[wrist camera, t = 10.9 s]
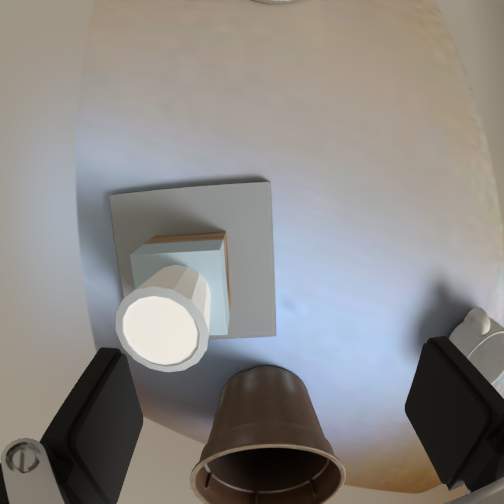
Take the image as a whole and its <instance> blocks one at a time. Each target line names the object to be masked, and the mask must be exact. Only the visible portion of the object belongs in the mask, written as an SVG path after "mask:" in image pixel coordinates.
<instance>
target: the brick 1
mask: <svg viewBox="0 0 504 504" xmlns="http://www.w3.org/2000/svg"><path fill="white" fill-rule="evenodd" d="M206 240H223V241H224V255H225V267H226V280H227V292H228V303H229V315H230V308H231V289H230V277H229V264H228V250H227V237H226V231H223V232H207V233H191V234H175V235H160V236H154V237H152V238H151V239H150V240H148V241H147V242H146V243H145V244H157V243H173V242H189V241H206Z"/></svg>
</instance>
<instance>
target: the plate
mask: <svg viewBox="0 0 504 504" xmlns="http://www.w3.org/2000/svg"><path fill="white" fill-rule="evenodd" d="M109 199H110V209H111V217H112V226H113V233H114V241H115V248H116V254H117V261H118V267H119V273H120V278H121V284H122V289H123V295H124V298H125V297H127V296H128V295H129V294H130V293H132V292H133V291H134V290H135V284H134V278H133V272H132V266H131V259H130V255H131V254H132V253H133V252H134V251H136V250H137V249H138V248H139V247H141V246H142V245H143V244H145V243H146V242H147V241H148V240H150V239H151V238H152V237H154V236H160V235H175V234H191V233H207V232H223V231H226V237H227V250H228V264H229V277H230V289H231V308H230V317H229V325H228V334H227V335H209V339H229V338H251V337H269V336H276V306H275V273H274V245H273V220H272V197H271V182H250V183H233V184H217V185H204V186H191V187H180V188H169V189H159V190H149V191H140V192H131V193H122V194H114V195H109Z"/></svg>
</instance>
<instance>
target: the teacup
mask: <svg viewBox="0 0 504 504" xmlns="http://www.w3.org/2000/svg"><path fill="white" fill-rule="evenodd" d="M448 339H449V340H450V341H451V342H452V343H453V344H454V345H455V346H456V347H457V348H458V349H459V350H460V351H461V352H462V353H463V354H464V355H465V356H466V357H467V359H468V360H469V361H470V362H471V363H472V364H473V365H474V366H475V367H476V368H477V369H478V370H479V372H480V373H481V374H482V375H483V376H484V377H485V378H486V379H487V380H488V382H489V383H490V384H491V385H492V384H493V383H494V382H495V381H496V380H497V379H498V378H499V377H500V376H501V375H502V374H503V372H504V328H503V327H502V326H501V325H500V324H498V323H497V322H496V321H494V320H493V319H491V318H489V317H488V315H487V313H486V312H485V311H484V310H483V309H482V308H480V307H476V308H474V309H472V310H471V311H470V312H469V313H468V315H467V316H466V317H465V318H464V321H463V322H462V323H461V324H459V325H458V326H457V327H456V328H455V329H454V330H453V332H452V333H451V335H450V337H449V338H448Z"/></svg>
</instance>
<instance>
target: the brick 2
mask: <svg viewBox="0 0 504 504" xmlns="http://www.w3.org/2000/svg"><path fill="white" fill-rule="evenodd" d="M130 259H131V266H132V272H133V278H134V284H135V289H137V288H138V287H139V286H141V285H142V284H143V283H144V282H146V281H147V280H148V279H149V278H151V277H152V276H153V275H154V274H156V273H157V272H158V271H160V270H161V269H162V268H164V267H167V266H172V265H182V266H188V267H190V268H192V269H193V270H195V271H197V272H198V273H200V274H201V276H202V277H203V278H204V280H205V281H206V282H207V284H208V287H209V291H210V294H211V300H210V326H209V335H227V334H228V325H229V317H230V315H229V303H228V292H227V280H226V267H225V255H224V241H223V240H206V241H189V242H173V243H157V244H143V245H142V246H141V247H139V248H138V249H137V250H136V251H134V252H133V253H132V254H131V255H130Z"/></svg>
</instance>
